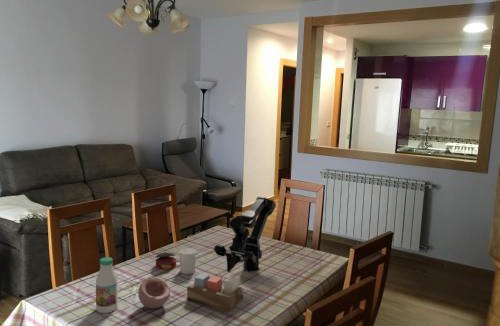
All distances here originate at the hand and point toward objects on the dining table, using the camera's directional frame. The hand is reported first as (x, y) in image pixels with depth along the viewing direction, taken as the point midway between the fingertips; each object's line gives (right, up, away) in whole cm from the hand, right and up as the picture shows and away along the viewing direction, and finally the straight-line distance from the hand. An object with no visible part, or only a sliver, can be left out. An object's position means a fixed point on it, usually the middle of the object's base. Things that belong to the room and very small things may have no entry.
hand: (228, 271), depth 173 cm
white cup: (-20, -5, +18) cm, 28 cm away
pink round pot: (-28, -10, -16) cm, 34 cm away
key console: (-5, -9, -9) cm, 13 cm away
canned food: (-32, -4, +24) cm, 40 cm away
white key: (+2, -8, -9) cm, 12 cm away
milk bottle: (-46, -9, -19) cm, 50 cm away
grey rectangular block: (-11, -7, -7) cm, 15 cm away
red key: (-5, -8, -10) cm, 13 cm away
